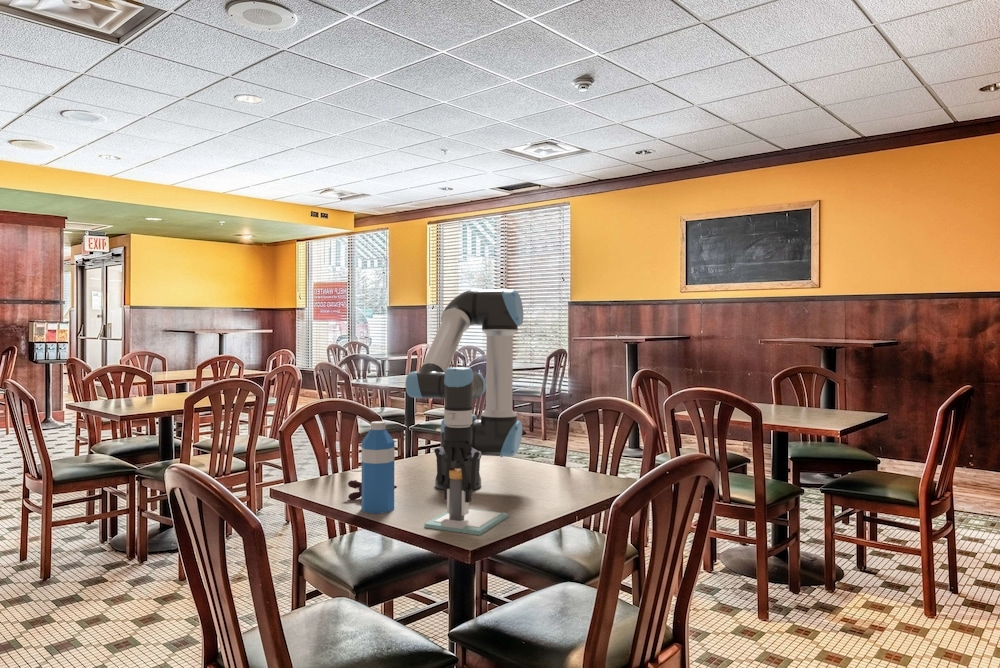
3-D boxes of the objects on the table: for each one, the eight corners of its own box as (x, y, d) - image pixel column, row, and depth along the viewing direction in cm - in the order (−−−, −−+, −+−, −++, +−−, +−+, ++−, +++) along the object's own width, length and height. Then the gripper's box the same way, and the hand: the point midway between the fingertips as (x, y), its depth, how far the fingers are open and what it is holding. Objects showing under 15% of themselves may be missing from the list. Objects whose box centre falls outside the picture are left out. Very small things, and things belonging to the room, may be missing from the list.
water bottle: (396, 505, 200) (396, 420, 199) (392, 513, 190) (392, 424, 190) (364, 505, 199) (364, 420, 199) (358, 513, 190) (358, 424, 190)
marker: (453, 516, 184) (453, 468, 184) (467, 517, 182) (467, 469, 182) (446, 520, 180) (446, 471, 180) (460, 521, 178) (460, 472, 178)
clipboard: (455, 510, 194) (455, 502, 194) (507, 516, 187) (507, 508, 187) (424, 527, 177) (424, 519, 177) (479, 535, 171) (479, 526, 171)
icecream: (398, 475, 210) (351, 479, 211) (394, 474, 203) (344, 478, 204) (399, 498, 208) (351, 502, 209) (394, 498, 201) (344, 502, 202)
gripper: (423, 425, 181) (423, 513, 181) (480, 429, 174) (480, 520, 174) (437, 421, 188) (437, 506, 188) (492, 425, 181) (492, 513, 181)
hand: (457, 513), depth 181 cm, fingers closed on marker, 4 cm apart
